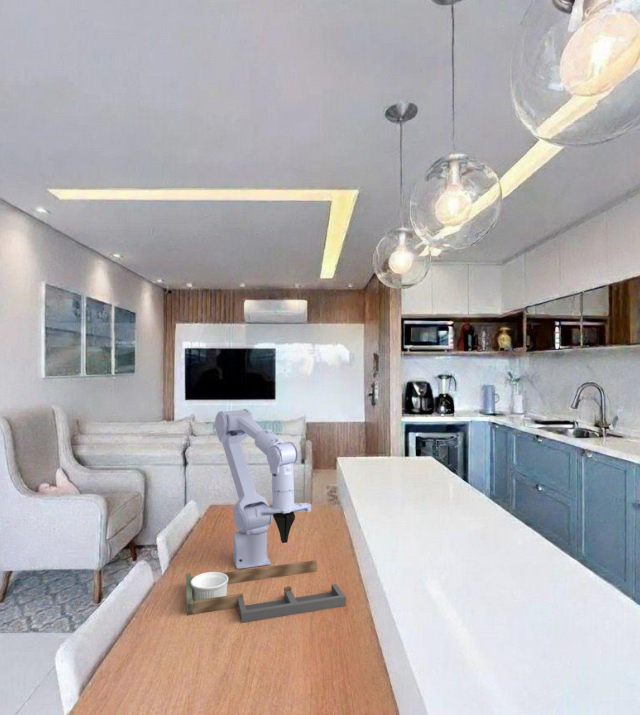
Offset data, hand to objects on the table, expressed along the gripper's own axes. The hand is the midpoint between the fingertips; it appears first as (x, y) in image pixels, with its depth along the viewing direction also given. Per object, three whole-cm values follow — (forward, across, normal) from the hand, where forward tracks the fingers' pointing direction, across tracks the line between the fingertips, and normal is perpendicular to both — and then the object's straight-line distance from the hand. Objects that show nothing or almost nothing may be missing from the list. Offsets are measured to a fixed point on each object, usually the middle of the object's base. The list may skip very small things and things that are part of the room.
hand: (284, 541), depth 130 cm
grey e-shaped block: (+9, -2, -16) cm, 18 cm away
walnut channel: (+9, -8, -5) cm, 13 cm away
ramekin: (+10, -20, -5) cm, 22 cm away
